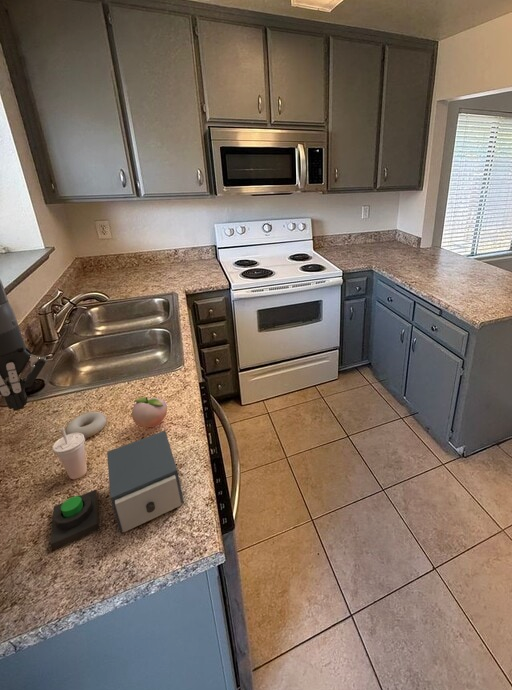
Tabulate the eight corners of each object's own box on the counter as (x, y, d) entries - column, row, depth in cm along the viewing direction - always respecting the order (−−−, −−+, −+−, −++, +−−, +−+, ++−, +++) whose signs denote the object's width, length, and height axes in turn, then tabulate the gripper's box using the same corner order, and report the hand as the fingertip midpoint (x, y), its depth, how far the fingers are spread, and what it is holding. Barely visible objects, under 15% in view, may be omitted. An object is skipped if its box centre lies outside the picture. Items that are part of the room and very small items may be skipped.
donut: (72, 448, 97) (112, 428, 103) (68, 438, 95) (109, 419, 102) (63, 431, 103) (101, 413, 110) (59, 421, 102) (98, 404, 109)
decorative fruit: (128, 436, 100) (121, 406, 97) (144, 416, 108) (137, 388, 105) (161, 437, 100) (154, 407, 96) (174, 417, 108) (168, 389, 104)
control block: (99, 529, 74) (95, 517, 73) (52, 550, 70) (47, 538, 69) (98, 494, 82) (94, 483, 81) (55, 512, 78) (51, 500, 77)
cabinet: (183, 502, 80) (177, 469, 77) (120, 532, 74) (110, 498, 71) (171, 460, 92) (165, 430, 88) (115, 483, 85) (107, 451, 82)
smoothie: (57, 485, 85) (40, 438, 80) (70, 464, 91) (56, 419, 86) (86, 481, 86) (71, 434, 81) (97, 461, 92) (84, 416, 87)
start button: (83, 511, 75) (81, 505, 74) (62, 520, 73) (60, 514, 73) (83, 499, 78) (81, 493, 77) (63, 507, 76) (61, 501, 75)
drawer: (182, 509, 77) (177, 482, 75) (123, 537, 72) (115, 509, 69) (170, 464, 89) (164, 439, 87) (118, 486, 84) (111, 459, 81)
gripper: (38, 313, 71) (61, 387, 77) (-53, 329, 64) (-21, 409, 70) (33, 326, 65) (59, 405, 71) (-68, 346, 58) (-31, 431, 64)
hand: (19, 407), depth 70 cm, fingers closed
